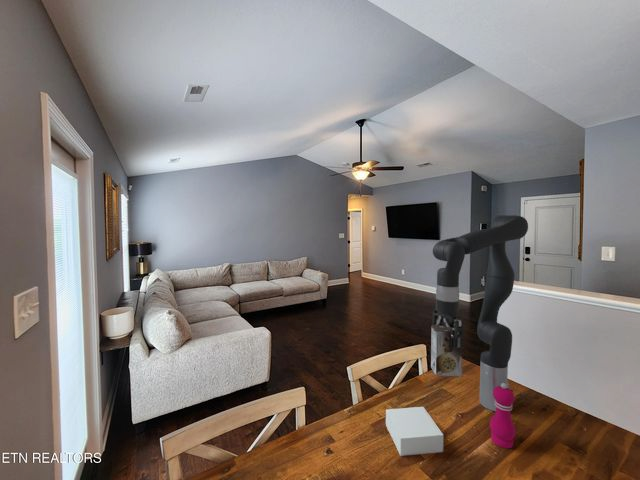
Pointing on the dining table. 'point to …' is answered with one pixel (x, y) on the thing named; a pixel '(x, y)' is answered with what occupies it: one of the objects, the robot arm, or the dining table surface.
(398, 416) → the riser block
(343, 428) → the dining table surface
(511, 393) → the pepper mill
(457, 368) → the coffee box
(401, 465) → the dining table surface
